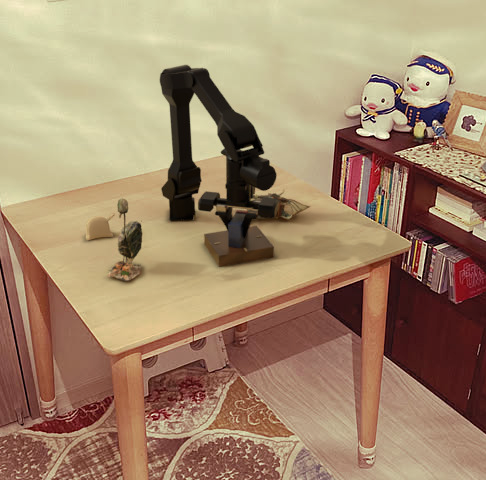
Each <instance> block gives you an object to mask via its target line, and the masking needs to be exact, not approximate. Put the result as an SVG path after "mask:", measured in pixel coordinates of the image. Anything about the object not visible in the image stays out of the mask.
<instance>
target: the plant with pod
mask: <svg viewBox="0 0 486 480" xmlns="http://www.w3.org/2000/svg"><path fill="white" fill-rule="evenodd" d="M116 204H117V206H116V207H117V212H118V213H119V215H118V218H119V219H121V218H122V215H123V227H122V228H121V229H120V232H119V234H118V237H117V243H116V244H117V250H118V253H119V254H120V255H121V256H123V257H124V258H123V260H121V261H120V260H119V261H118V262H116V263H115V264H114V265H112V266H111V268H110V269H109V270H108V273H107V275H106V277H108V278H109V277H110V278H112V277H114V278H116V279H117V280H120V281H122V282H129V281H131V280H133V279H134V278H136V277H137V276H139V275H140V274H141V272H142V270H141V269H142V265H141V264H133V261H134V259H135V258H136V257H137V255H138V254H139V253H140V251H141V250H142V243H143V227H142V224H141V223H140V222H143V220H140V222H139V221H138V220H136V221H135V220H130V221H128V222H127V221H126V218H127V217H126V214H128V212H129V202H128V200H126V198H120V199H118V200H117V203H116ZM126 222H127V223H126Z"/></svg>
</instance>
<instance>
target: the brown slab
mask: <svg viewBox="0 0 486 480" xmlns="http://www.w3.org/2000/svg"><path fill="white" fill-rule="evenodd" d="M203 234H204V235H203V241H204V242H203V243H204V246H205V248H206V249H207V251H208V252H209V254H210V256H212V258H213V260H214V261H215V263H216V265H217V266H218V267H226V266H233V265H238V264H243V263H250V262H254V261H255V262H256V261H261V260H268V259H273V258H274V257H275V256H274V255H275V245H274V244H273V243H271V241H270V240H269V238H267V236H266V235H265V234H264V233H263V231H262V230H261V229H260V228H259V226H257V225H250V227H249V230H248V234H247V236H246V238H245V240H244V242H243V244H242V246H241V248H236V247H228V230H227V229H226V230H221V231H213V232H209V233H203Z"/></svg>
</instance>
